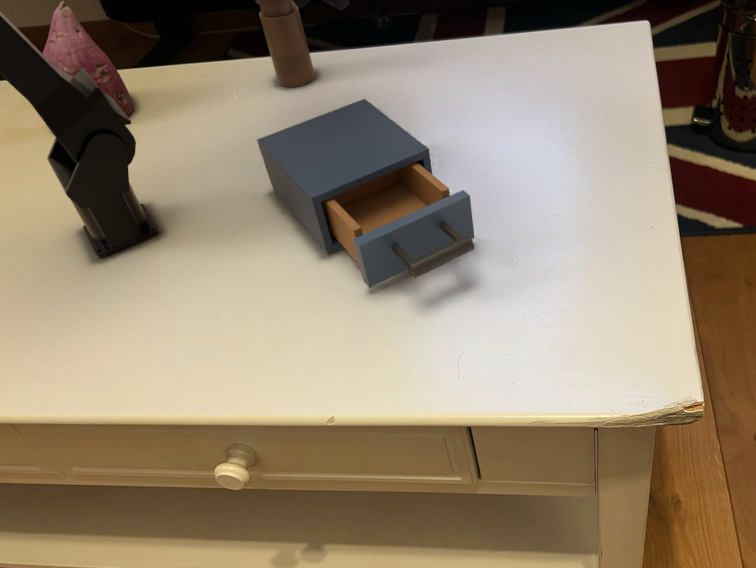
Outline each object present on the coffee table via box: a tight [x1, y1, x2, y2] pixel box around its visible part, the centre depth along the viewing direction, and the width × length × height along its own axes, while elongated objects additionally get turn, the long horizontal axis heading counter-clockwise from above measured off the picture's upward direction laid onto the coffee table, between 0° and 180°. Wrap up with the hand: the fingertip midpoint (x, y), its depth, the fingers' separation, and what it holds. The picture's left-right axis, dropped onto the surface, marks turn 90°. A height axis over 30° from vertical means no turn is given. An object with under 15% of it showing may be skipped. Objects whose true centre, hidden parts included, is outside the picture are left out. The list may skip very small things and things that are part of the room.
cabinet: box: [256, 98, 434, 255], centre depth 75 cm, size 14×13×7 cm
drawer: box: [321, 162, 475, 288], centre depth 68 cm, size 17×11×5 cm
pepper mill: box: [255, 0, 316, 88], centre depth 93 cm, size 5×5×14 cm
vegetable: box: [42, 0, 135, 117], centre depth 93 cm, size 10×10×15 cm
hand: (344, 5), depth 77 cm, fingers closed
